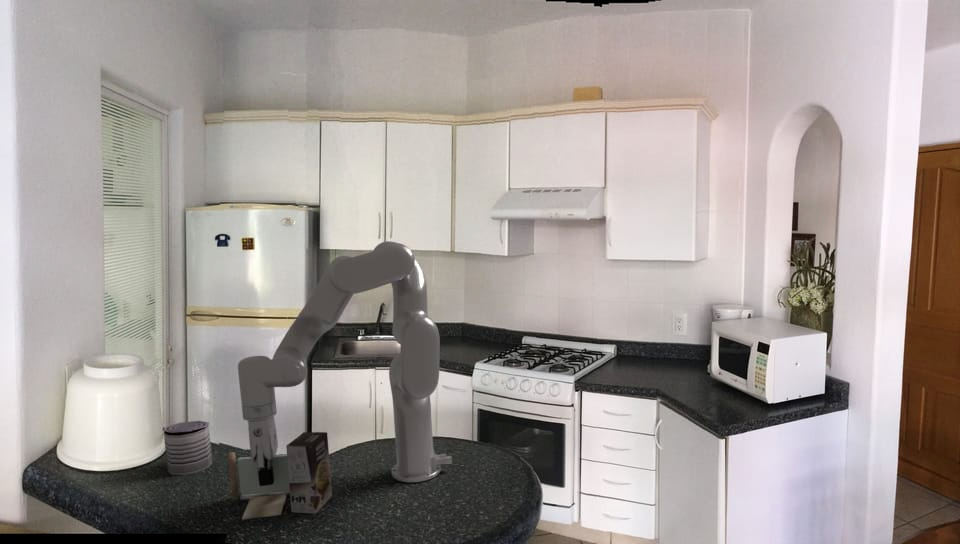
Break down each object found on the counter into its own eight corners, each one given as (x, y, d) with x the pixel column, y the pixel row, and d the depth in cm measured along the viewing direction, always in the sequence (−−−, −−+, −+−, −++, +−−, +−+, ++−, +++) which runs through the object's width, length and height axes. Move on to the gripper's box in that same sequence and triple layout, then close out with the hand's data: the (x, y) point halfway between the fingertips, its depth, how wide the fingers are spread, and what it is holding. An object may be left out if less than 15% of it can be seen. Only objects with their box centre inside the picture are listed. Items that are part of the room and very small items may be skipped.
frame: (307, 487, 160) (303, 443, 158) (306, 492, 157) (302, 448, 155) (233, 496, 157) (229, 451, 156) (231, 501, 154) (226, 456, 153)
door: (241, 495, 155) (237, 459, 154) (242, 492, 156) (239, 457, 155) (293, 491, 156) (290, 455, 155) (294, 488, 157) (291, 453, 156)
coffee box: (316, 514, 145) (310, 446, 144) (290, 513, 147) (284, 445, 145) (333, 495, 154) (328, 431, 152) (309, 494, 156) (303, 430, 154)
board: (287, 495, 156) (286, 493, 156) (280, 514, 146) (280, 513, 146) (250, 499, 155) (250, 497, 155) (242, 519, 145) (241, 517, 145)
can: (158, 471, 174) (153, 429, 173) (194, 455, 184) (190, 415, 183) (185, 478, 169) (181, 434, 167) (221, 461, 179) (217, 420, 177)
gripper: (271, 418, 143) (279, 495, 145) (279, 398, 158) (286, 469, 160) (236, 422, 142) (244, 500, 144) (248, 401, 156) (255, 473, 159)
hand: (266, 483), depth 152 cm, fingers closed
